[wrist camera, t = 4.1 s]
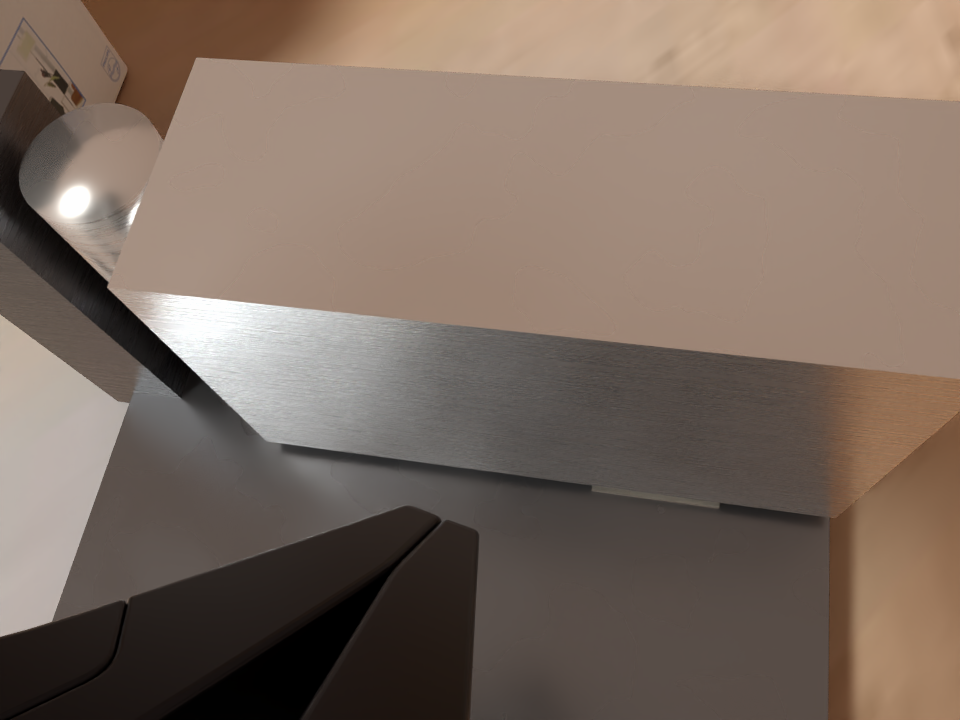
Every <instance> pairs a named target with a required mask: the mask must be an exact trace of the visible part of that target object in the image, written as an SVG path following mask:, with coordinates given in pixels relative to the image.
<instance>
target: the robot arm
mask: <svg viewBox="0 0 960 720" xmlns="http://www.w3.org/2000/svg"><path fill="white" fill-rule="evenodd" d="M478 554H479V533H478V531H477V530H475V529H473V528H470V527H467V526H465V525H462V524H459V523H457V522H454V521H451V520H443V521H441V518H440V517H439V516H437V515H435V514H432V513H430V512H427V511H425V510H422V509H419V508H417V507H414V506H411V505H405V506H401V507H398V508H395V509H392V510H389V511H386V512H383V513H380V514H377V515H374V516H371V517H368V518H365V519H362V520H359V521H356V522H353V523H350V524H347V525H344V526H341V527H338V528H335V529H332V530H329V531H326V532H323V533H320V534H317V535H314V536H311V537H308V538H305V539H302V540H299V541H296V542H293V543H290V544H287V545H284V546H281V547H278V548H275V549H272V550H269V551H266V552H263V553H260V554H257V555H254V556H251V557H248V558H245V559H242V560H239V561H236V562H233V563H230V564H227V565H224V566H221V567H218V568H215V569H212V570H209V571H206V572H203V573H200V574H197V575H194V576H191V577H188V578H185V579H182V580H179V581H176V582H173V583H170V584H167V585H164V586H161V587H158V588H155V589H152V590H149V591H146V592H143V593H140V594H137V595H134V596H131V597H130V598H129V599H128V601H127V604H126V602H125V601H124V600H118V601H115V602H112V603H109V604H106V605H103V606H100V607H97V608H94V609H91V610H88V611H85V612H82V613H79V614H76V615H73V616H69V617H66V618H63V619H60V620H56V621H53V622H50V623H47V624H44V625H40V626H37V627H34V628H31V629H27V630H24V631H20V632H17V633H13V634H9V635H5V636H2V637H0V720H470V710H471V690H472V671H473V651H474V632H475V612H476V593H477V573H478Z"/></svg>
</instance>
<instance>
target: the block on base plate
mask: <svg viewBox="0 0 960 720" xmlns="http://www.w3.org/2000/svg"><path fill="white" fill-rule="evenodd" d="M60 116H61V115H60V113H59V112H58V111H57V110H56V108H55V107H54V106H53V105H52V104H51V102H50V101H49V100H48V99H47V98H46V96H45V95H44V94H43V93H42V92H41V90H40V89H39V88H38V87H37V85H36V84H35V83H34V82H33V81H32V79H31V78H30V77H29V76H28V75H27V73H26V72H25V71H20V70H4V69H0V314H1V315H2V316H3V317H5V318H6V319H7V320H9V321H10V322H11V323H13V324H14V325H15V326H17V327H18V328H20V329H21V330H22V331H24V332H25V333H26V334H28V335H29V336H30V337H32V338H33V339H34V340H36V341H37V342H38V343H40V344H41V345H43V346H44V347H45V348H47V349H48V350H49V351H51V352H52V353H53V354H55V355H56V356H57V357H59V358H60V359H61V360H63V361H64V362H66V363H67V364H68V365H70V366H71V367H72V368H74V369H75V370H76V371H78V372H79V373H80V374H82V375H83V376H84V377H86V378H87V379H89V380H90V381H91V382H93V383H94V384H95V385H97V386H98V387H99V388H101V389H102V390H103V391H105V392H106V393H108V394H109V395H110V396H112V397H113V398H114V399H116V400H117V401H120V402H128V403H129V406H128V409H127V412H126V415H125V417H124V420H123V423H122V426H121V429H120V432H119V434H118V437H117V440H116V443H115V446H114V448H113V451H112V454H111V457H110V460H109V463H108V465H107V468H106V471H105V474H104V477H103V479H102V482H101V485H100V488H99V491H98V494H97V496H96V499H95V502H94V505H93V508H92V511H91V513H90V516H89V519H88V522H87V525H86V527H85V530H84V533H83V536H82V539H81V542H80V544H79V547H78V550H77V553H76V556H75V558H74V561H73V564H72V567H71V570H70V573H69V575H68V578H67V581H66V584H65V587H64V589H63V592H62V595H61V598H60V601H59V604H58V606H57V609H56V612H55V615H54V618H53V621H56V620H60V619H63V618H66V617H69V616H73V615H76V614H79V613H82V612H85V611H88V610H91V609H94V608H97V607H100V606H103V605H106V604H109V603H112V602H115V601H118V600H124V601H125V602H126V604H127V601H128V599H129V598H130V597H131V596H134V595H137V594H140V593H143V592H146V591H149V590H152V589H155V588H158V587H161V586H164V585H167V584H170V583H173V582H176V581H179V580H182V579H185V578H188V577H191V576H194V575H197V574H200V573H203V572H206V571H209V570H212V569H215V568H218V567H221V566H224V565H227V564H230V563H233V562H236V561H239V560H242V559H245V558H248V557H251V556H254V555H257V554H260V553H263V552H266V551H269V550H272V549H275V548H278V547H281V546H284V545H287V544H290V543H293V542H296V541H299V540H302V539H305V538H308V537H311V536H314V535H317V534H320V533H323V532H326V531H329V530H332V529H335V528H338V527H341V526H344V525H347V524H350V523H353V522H356V521H359V520H362V519H365V518H368V517H371V516H374V515H377V514H380V513H383V512H386V511H389V510H392V509H395V508H398V507H401V506H405V505H411V506H414V507H417V508H419V509H422V510H425V511H427V512H430V513H432V514H435V515H437V516H439V517H440V518H441V521H443V520H451V521H454V522H457V523H459V524H462V525H465V526H467V527H470V528H473V529H475V530H477V531H478V533H479V554H478V573H477V593H476V612H475V632H474V651H473V671H472V690H471V710H470V720H828V670H829V532H830V518H829V517H822V516H814V515H807V514H800V513H792V512H785V511H777V510H770V509H763V508H755V507H748V506H740V505H733V504H726V503H718V502H711V501H704V500H696V499H689V498H681V497H674V496H667V495H659V494H652V493H644V492H637V491H630V490H622V489H615V488H608V487H600V486H593V485H585V484H578V483H571V482H563V481H556V480H548V479H541V478H534V477H526V476H519V475H512V474H504V473H497V472H489V471H482V470H475V469H467V468H460V467H452V466H445V465H438V464H430V463H423V462H416V461H408V460H401V459H393V458H386V457H379V456H371V455H364V454H356V453H349V452H342V451H334V450H327V449H320V448H312V447H305V446H297V445H290V444H283V443H275V442H268V441H266V440H265V439H264V438H263V437H262V436H261V435H260V434H259V433H257V432H256V431H255V430H254V429H253V428H252V427H251V426H250V425H249V424H248V423H247V422H246V421H245V420H244V419H243V418H242V417H241V416H240V415H239V414H238V413H237V412H236V411H235V410H234V409H233V408H232V407H231V406H229V405H228V404H227V403H226V402H225V401H224V400H223V399H222V398H221V397H220V396H219V395H218V394H217V393H216V392H215V391H214V390H213V389H212V388H211V387H210V386H209V385H208V384H207V383H206V382H205V381H204V380H202V379H201V378H200V377H199V376H198V375H197V374H196V373H195V372H194V371H193V370H192V369H191V368H190V367H189V366H188V365H187V364H186V363H185V362H184V361H183V360H182V359H181V358H180V357H179V356H178V355H177V354H176V353H174V352H173V351H172V350H171V349H170V348H169V347H168V346H167V345H166V344H165V343H164V342H163V341H162V340H161V339H160V338H159V337H158V336H157V335H156V334H155V333H154V332H153V331H152V330H151V329H150V328H149V327H148V326H146V325H145V324H144V323H143V322H142V321H141V320H140V319H139V318H138V317H137V316H136V315H135V314H134V313H133V312H132V311H131V310H130V309H129V308H128V307H127V306H126V305H125V304H124V303H123V302H122V301H121V300H119V299H118V298H117V297H116V296H115V295H114V294H113V293H112V292H111V291H110V290H109V289H108V288H107V286H108V284H109V283H108V282H107V281H106V280H105V279H104V278H103V277H102V276H101V275H100V274H99V273H98V272H97V271H96V270H95V269H94V268H93V267H92V266H91V265H90V264H89V263H88V262H87V261H86V260H85V259H84V258H83V257H82V256H81V255H80V254H79V253H78V252H77V251H76V250H75V249H74V248H73V247H72V246H71V245H70V244H69V243H68V242H67V241H65V240H64V239H63V238H62V237H61V236H60V235H59V234H58V233H57V232H56V231H55V230H54V229H53V228H52V227H51V226H50V225H49V224H48V223H47V222H46V221H45V220H44V219H43V218H42V217H41V216H40V215H39V214H38V213H37V212H36V211H35V210H34V209H33V208H32V207H31V206H30V205H29V204H28V203H27V202H26V200H25V199H24V197H23V195H22V192H21V189H20V185H19V170H20V166H21V162H22V159H23V157H24V154H25V152H26V151H27V149H28V147H29V146H30V144H31V143H32V141H33V140H34V139H35V138H36V136H37V135H38V134H39V133H40V132H41V131H42V130H43V129H44V128H45V127H46V126H48V125H49V124H50V123H52V122H53V121H54V120H56V119H57V118H59V117H60ZM53 621H52V622H53Z"/></svg>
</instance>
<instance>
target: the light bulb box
mask: <svg viewBox="0 0 960 720" xmlns="http://www.w3.org/2000/svg"><path fill="white" fill-rule="evenodd" d="M0 69H4V70H20V71H25V72H26V73H27V75H28V76H29V77H30V78H31V79H32V81H33V82H34V83H35V84H36V85H37V87H38V88H39V89H40V90H41V92H42V93H43V94H44V95H45V96H46V98H47V99H48V100H49V101H50V102H51V104H52V105H53V106H54V107H55V108H56V110H57V111H58V112H59V113H60V115H61V116H62V115H64V114H66V113H68V112H70V111H73V110H75V109H77V108H81V107H84V106H87V105H92V104H99V103H115V101H116V98H117V96H118V94H119V91H120V89H121V86H122V84H123V81H124V79H125V76H126V74H127V66H126V65H125V63H124V62H123V60H122V59H121V58H120V56H119V55H118V53H117V52H116V50H115V49H114V47H113V46H112V45H111V43H110V42H109V40H108V39H107V37H106V36H105V35H104V33H103V32H102V30H101V29H100V27H99V26H98V24H97V23H96V21H95V20H94V19H93V17H92V16H91V14H90V13H89V11H88V10H87V8H86V7H85V6H84V4H83V3H82V1H81V0H0Z"/></svg>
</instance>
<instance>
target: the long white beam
mask: <svg viewBox="0 0 960 720" xmlns="http://www.w3.org/2000/svg"><path fill="white" fill-rule="evenodd" d="M19 185H20V189H21V192H22V195H23V197H24V199H25V200H26V202H27V203H28V204H29V205H30V206H31V207H32V208H33V209H34V210H35V211H36V212H37V213H38V214H39V215H40V216H41V217H42V218H43V219H44V220H45V221H46V222H47V223H48V224H49V225H50V226H51V227H52V228H53V229H54V230H55V231H56V232H57V233H58V234H59V235H60V236H61V237H62V238H63V239H64V240H65V241H67V242H68V243H69V244H70V245H71V246H72V247H73V248H74V249H75V250H76V251H77V252H78V253H79V254H80V255H81V256H82V257H83V258H84V259H85V260H86V261H87V262H88V263H89V264H90V265H91V266H92V267H93V268H94V269H95V270H96V271H97V272H98V273H99V274H100V275H101V276H102V277H103V278H104V279H105V280H106V281H107V282H108V283H109V284H108V286H107V288H108V289H109V290H110V291H111V292H112V293H113V294H114V295H115V296H116V297H117V298H118V299H119V300H121V301H122V302H123V303H124V304H125V305H126V306H127V307H128V308H129V309H130V310H131V311H132V312H133V313H134V314H135V315H136V316H137V317H138V318H139V319H140V320H141V321H142V322H143V323H144V324H145V325H146V326H148V327H149V328H150V329H151V330H152V331H153V332H154V333H155V334H156V335H157V336H158V337H159V338H160V339H161V340H162V341H163V342H164V343H165V344H166V345H167V346H168V347H169V348H170V349H171V350H172V351H173V352H174V353H176V354H177V355H178V356H179V357H180V358H181V359H182V360H183V361H184V362H185V363H186V364H187V365H188V366H189V367H190V368H191V369H192V370H193V371H194V372H195V373H196V374H197V375H198V376H199V377H200V378H201V379H202V380H204V381H205V382H206V383H207V384H208V385H209V386H210V387H211V388H212V389H213V390H214V391H215V392H216V393H217V394H218V395H219V396H220V397H221V398H222V399H223V400H224V401H225V402H226V403H227V404H228V405H229V406H231V407H232V408H233V409H234V410H235V411H236V412H237V413H238V414H239V415H240V416H241V417H242V418H243V419H244V420H245V421H246V422H247V423H248V424H249V425H250V426H251V427H252V428H253V429H254V430H255V431H256V432H257V433H259V434H260V435H261V436H262V437H263V438H264V439H265V440H266V441H268V442H275V443H283V444H290V445H297V446H305V447H312V448H320V449H327V450H334V451H342V452H349V453H356V454H364V455H371V456H379V457H386V458H393V459H401V460H408V461H416V462H423V463H430V464H438V465H445V466H452V467H460V468H467V469H475V470H482V471H489V472H497V473H504V474H512V475H519V476H526V477H534V478H541V479H548V480H556V481H563V482H571V483H578V484H585V485H593V486H600V487H608V488H615V489H622V490H630V491H637V492H644V493H652V494H659V495H667V496H674V497H681V498H689V499H696V500H704V501H711V502H718V503H726V504H733V505H740V506H748V507H755V508H763V509H770V510H777V511H785V512H792V513H800V514H807V515H814V516H822V517H829V518H837V517H838V516H839V515H840V514H841V513H842V512H844V511H845V510H846V509H847V508H848V507H849V506H851V505H852V504H853V503H854V502H855V501H856V500H858V499H859V498H860V497H861V496H862V495H863V494H864V493H866V492H867V491H868V490H869V489H870V488H871V487H873V486H874V485H875V484H876V483H877V482H878V481H880V480H881V479H882V478H883V477H884V476H885V475H887V474H888V473H889V472H890V471H891V470H892V469H894V468H895V467H896V466H897V465H898V464H899V463H901V462H902V461H903V460H904V459H905V458H906V457H908V456H909V455H910V454H911V453H912V452H913V451H915V450H916V449H917V448H918V447H919V446H920V445H922V444H923V443H924V442H925V441H926V440H927V439H928V438H930V437H931V436H932V435H933V434H934V433H935V432H937V431H938V430H939V429H940V428H941V427H942V426H944V425H945V424H946V423H947V422H948V421H949V420H951V419H952V418H953V417H954V416H955V415H956V414H958V413H959V412H960V102H959V101H942V100H924V99H907V98H890V97H872V96H855V95H838V94H820V93H803V92H786V91H768V90H751V89H734V88H716V87H699V86H682V85H664V84H647V83H630V82H612V81H595V80H578V79H560V78H543V77H526V76H508V75H491V74H474V73H456V72H439V71H422V70H404V69H387V68H370V67H352V66H335V65H318V64H300V63H283V62H266V61H248V60H231V59H214V58H196V60H195V62H194V65H193V67H192V70H191V72H190V75H189V78H188V80H187V83H186V85H185V88H184V91H183V93H182V96H181V98H180V101H179V103H178V106H177V109H176V111H175V114H174V116H173V119H172V121H171V124H170V127H169V129H168V132H167V134H166V137H165V140H163V139H162V137H161V136H160V134H159V133H158V131H157V130H156V129H155V127H154V126H153V124H152V123H151V122H150V120H149V119H148V118H147V117H146V116H145V115H144V114H142V113H141V112H140V111H138V110H136V109H134V108H132V107H129V106H126V105H122V104H116V103H99V104H92V105H87V106H84V107H81V108H77V109H75V110H73V111H70V112H68V113H66V114H64V115H62V116H60V117H59V118H57V119H56V120H54V121H53V122H52V123H50V124H49V125H48V126H46V127H45V128H44V129H43V130H42V131H41V132H40V133H39V134H38V135H37V136H36V138H35V139H34V140H33V141H32V143H31V144H30V146H29V147H28V149H27V151H26V152H25V154H24V157H23V159H22V162H21V166H20V170H19Z"/></svg>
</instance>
